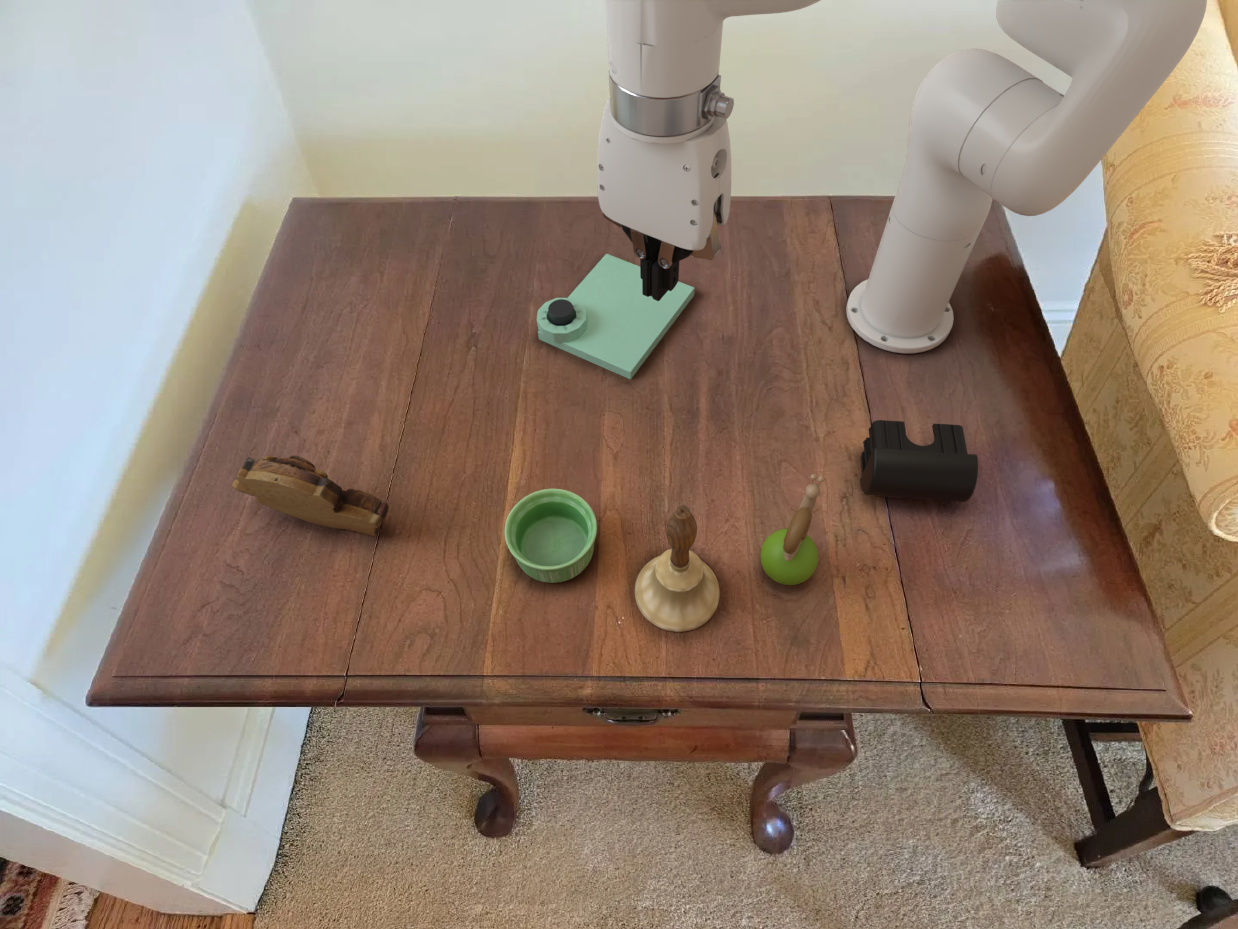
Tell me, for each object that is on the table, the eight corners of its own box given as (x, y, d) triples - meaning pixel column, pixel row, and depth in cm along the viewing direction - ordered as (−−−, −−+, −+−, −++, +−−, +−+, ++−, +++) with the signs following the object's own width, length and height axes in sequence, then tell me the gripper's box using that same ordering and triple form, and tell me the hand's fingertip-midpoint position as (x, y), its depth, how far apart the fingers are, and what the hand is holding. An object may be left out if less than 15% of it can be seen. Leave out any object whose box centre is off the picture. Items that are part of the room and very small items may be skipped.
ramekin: (515, 509, 81) (509, 487, 78) (601, 511, 81) (599, 488, 77) (505, 588, 76) (498, 568, 73) (596, 590, 76) (594, 570, 72)
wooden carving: (406, 511, 82) (379, 458, 73) (390, 549, 79) (361, 498, 71) (263, 486, 84) (221, 431, 75) (243, 522, 81) (198, 470, 73)
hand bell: (713, 639, 73) (729, 563, 60) (627, 623, 74) (623, 545, 61) (724, 561, 77) (741, 474, 64) (643, 547, 78) (643, 459, 65)
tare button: (558, 305, 94) (557, 295, 93) (579, 313, 93) (578, 304, 92) (544, 320, 93) (543, 311, 92) (565, 329, 92) (564, 320, 91)
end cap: (860, 509, 80) (876, 473, 75) (855, 453, 84) (870, 415, 79) (959, 516, 80) (983, 481, 74) (949, 459, 84) (971, 421, 78)
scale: (600, 259, 103) (599, 241, 100) (694, 295, 98) (695, 277, 96) (530, 339, 95) (527, 321, 92) (628, 382, 91) (628, 365, 88)
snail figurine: (822, 548, 78) (848, 484, 68) (802, 602, 75) (827, 543, 65) (770, 529, 79) (789, 463, 69) (749, 581, 76) (765, 520, 66)
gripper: (784, 97, 54) (753, 293, 69) (603, 41, 58) (612, 236, 74) (732, 154, 50) (712, 348, 65) (545, 89, 55) (567, 284, 70)
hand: (659, 288), depth 69 cm, fingers closed
